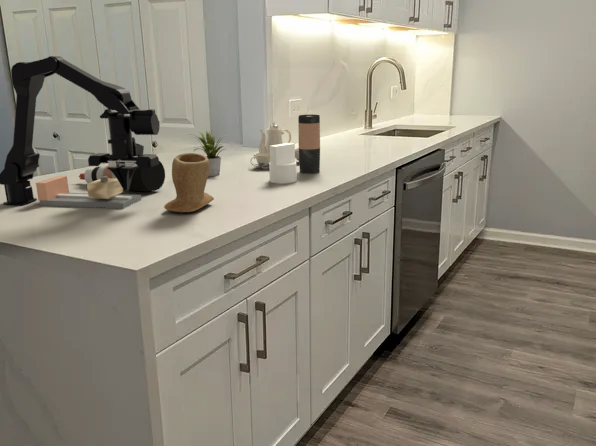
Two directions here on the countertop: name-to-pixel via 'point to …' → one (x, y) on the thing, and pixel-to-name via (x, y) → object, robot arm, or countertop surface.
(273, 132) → the chinaware
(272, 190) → the countertop surface
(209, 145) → the house plant
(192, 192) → the stone cup
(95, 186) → the block
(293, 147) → the base with upright slab
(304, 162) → the travel mug
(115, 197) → the track
